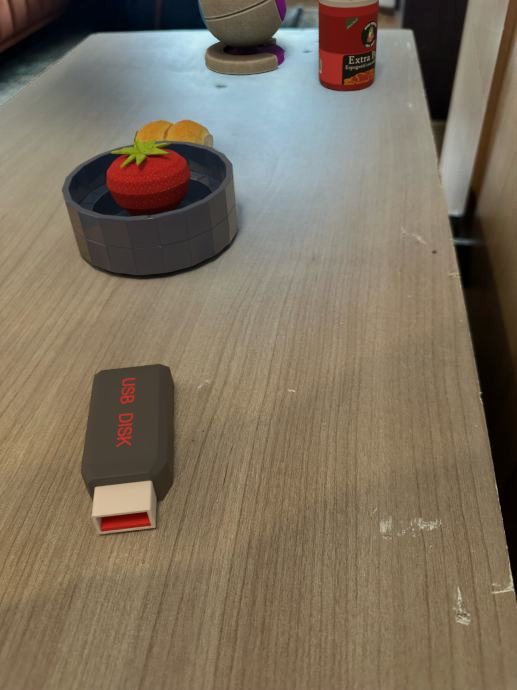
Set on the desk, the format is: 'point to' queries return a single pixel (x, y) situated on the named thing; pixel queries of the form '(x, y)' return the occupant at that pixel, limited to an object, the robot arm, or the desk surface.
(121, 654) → the desk surface
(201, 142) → the bread roll
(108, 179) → the strawberry
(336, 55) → the canned food
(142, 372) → the usb drive
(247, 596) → the desk surface
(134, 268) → the bowl
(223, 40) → the webcam
